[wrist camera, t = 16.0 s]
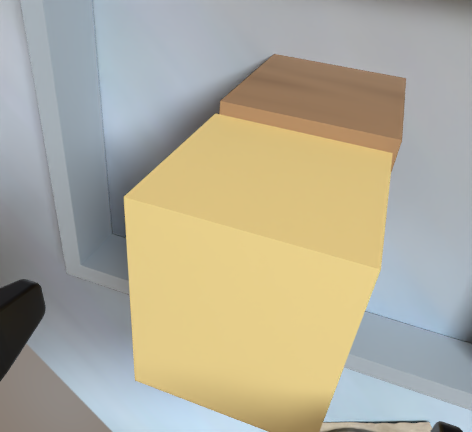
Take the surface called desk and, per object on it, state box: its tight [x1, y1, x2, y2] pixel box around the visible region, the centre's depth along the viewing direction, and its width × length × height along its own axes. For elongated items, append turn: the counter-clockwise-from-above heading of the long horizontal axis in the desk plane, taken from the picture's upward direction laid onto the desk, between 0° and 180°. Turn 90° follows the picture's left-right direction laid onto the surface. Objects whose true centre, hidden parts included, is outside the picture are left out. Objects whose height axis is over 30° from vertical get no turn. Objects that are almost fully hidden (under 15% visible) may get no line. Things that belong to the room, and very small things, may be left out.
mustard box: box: [124, 113, 393, 432], centre depth 12 cm, size 6×5×5 cm
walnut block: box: [219, 54, 406, 171], centre depth 16 cm, size 7×5×6 cm
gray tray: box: [20, 0, 472, 410], centre depth 17 cm, size 23×18×3 cm
